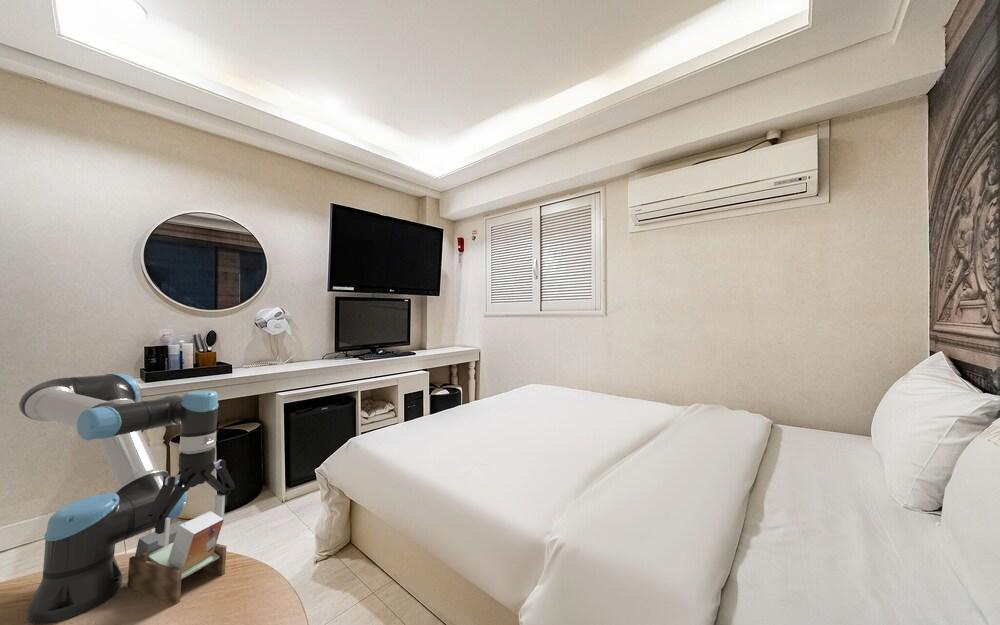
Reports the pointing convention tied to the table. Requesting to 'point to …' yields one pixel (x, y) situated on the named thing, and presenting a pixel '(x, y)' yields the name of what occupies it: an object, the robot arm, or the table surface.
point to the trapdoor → (167, 550)
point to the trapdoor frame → (165, 575)
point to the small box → (195, 540)
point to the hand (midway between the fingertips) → (192, 531)
